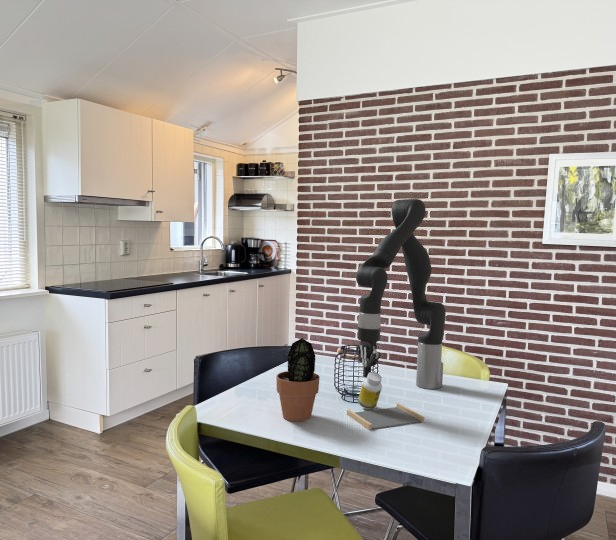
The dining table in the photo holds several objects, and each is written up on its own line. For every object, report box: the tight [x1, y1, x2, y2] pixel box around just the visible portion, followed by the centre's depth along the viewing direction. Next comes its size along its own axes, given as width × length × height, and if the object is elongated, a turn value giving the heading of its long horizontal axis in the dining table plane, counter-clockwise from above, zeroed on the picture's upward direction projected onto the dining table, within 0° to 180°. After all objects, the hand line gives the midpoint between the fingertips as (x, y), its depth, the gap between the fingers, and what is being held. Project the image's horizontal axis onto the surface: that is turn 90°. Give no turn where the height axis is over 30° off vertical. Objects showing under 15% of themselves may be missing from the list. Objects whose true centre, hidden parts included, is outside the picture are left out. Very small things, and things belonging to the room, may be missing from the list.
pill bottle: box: [357, 371, 383, 410], centre depth 171 cm, size 6×6×12 cm
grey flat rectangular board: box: [346, 402, 425, 431], centre depth 163 cm, size 20×14×2 cm
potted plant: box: [275, 337, 320, 423], centre depth 161 cm, size 14×14×25 cm
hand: (366, 376), depth 173 cm, fingers closed
